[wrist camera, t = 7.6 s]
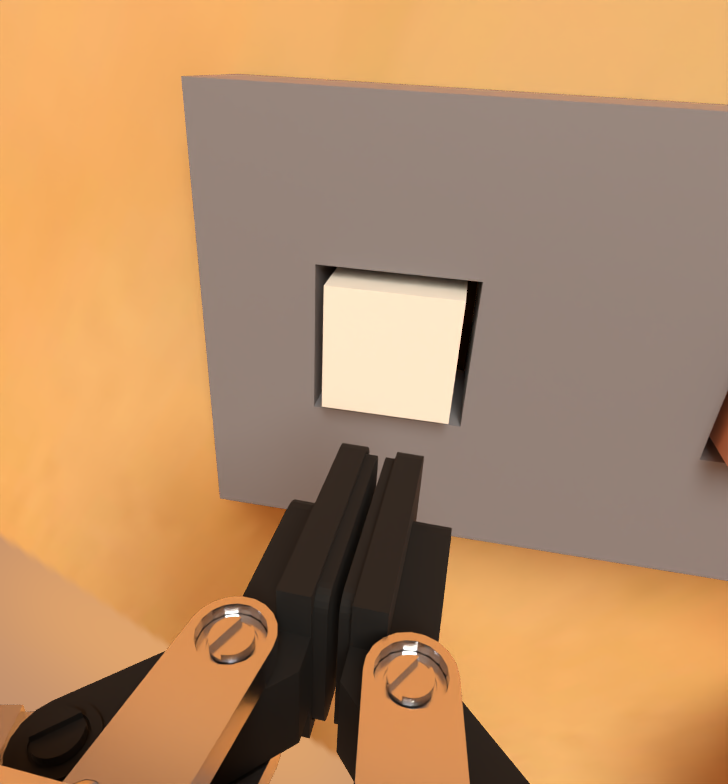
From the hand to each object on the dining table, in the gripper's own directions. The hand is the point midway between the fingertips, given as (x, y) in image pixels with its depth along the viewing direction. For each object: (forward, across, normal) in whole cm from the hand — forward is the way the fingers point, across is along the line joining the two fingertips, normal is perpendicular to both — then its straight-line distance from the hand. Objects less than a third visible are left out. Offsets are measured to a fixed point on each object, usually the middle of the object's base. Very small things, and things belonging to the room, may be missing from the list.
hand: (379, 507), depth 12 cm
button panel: (+11, -5, 0) cm, 12 cm away
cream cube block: (+10, +1, 0) cm, 10 cm away
